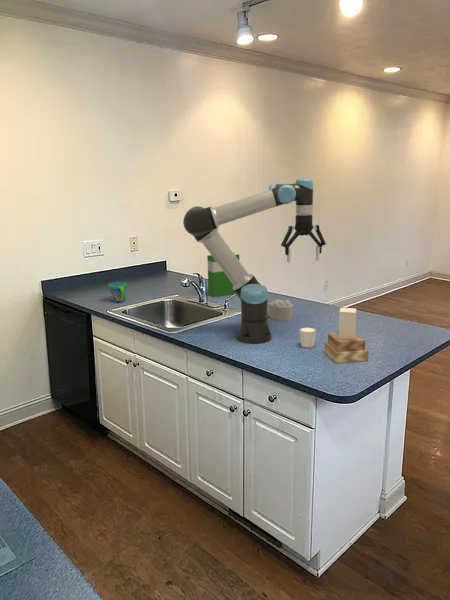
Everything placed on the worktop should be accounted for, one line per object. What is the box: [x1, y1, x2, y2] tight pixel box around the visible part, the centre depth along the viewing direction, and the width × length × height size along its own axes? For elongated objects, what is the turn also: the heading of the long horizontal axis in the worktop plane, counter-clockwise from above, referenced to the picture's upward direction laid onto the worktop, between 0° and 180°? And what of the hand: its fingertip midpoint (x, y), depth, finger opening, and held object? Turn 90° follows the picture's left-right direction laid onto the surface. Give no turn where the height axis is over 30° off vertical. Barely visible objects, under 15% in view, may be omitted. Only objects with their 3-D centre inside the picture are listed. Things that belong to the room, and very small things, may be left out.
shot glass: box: [299, 327, 317, 348], centre depth 210 cm, size 7×7×7 cm
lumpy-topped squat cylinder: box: [268, 299, 294, 322], centre depth 250 cm, size 10×13×9 cm
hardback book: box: [206, 254, 240, 298], centre depth 299 cm, size 18×7×24 cm, turn 117°
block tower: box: [323, 332, 369, 364], centre depth 197 cm, size 13×13×8 cm
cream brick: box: [338, 307, 357, 340], centre depth 195 cm, size 6×6×11 cm
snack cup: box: [107, 281, 128, 303], centre depth 290 cm, size 16×10×10 cm
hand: (303, 261), depth 227 cm, fingers open, 13 cm apart
